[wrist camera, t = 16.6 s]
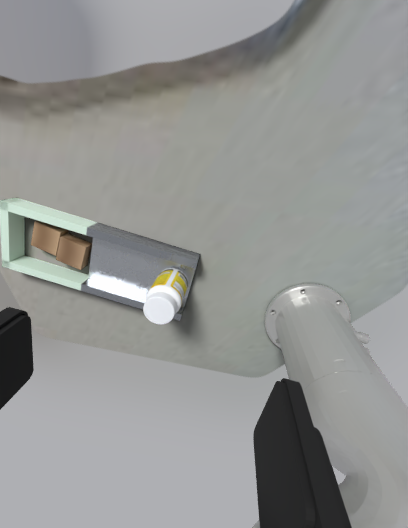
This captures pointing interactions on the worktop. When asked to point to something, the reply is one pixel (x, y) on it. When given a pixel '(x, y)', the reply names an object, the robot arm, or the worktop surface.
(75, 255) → the brown block
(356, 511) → the robot arm
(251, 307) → the worktop surface
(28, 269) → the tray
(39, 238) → the chip
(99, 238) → the channel
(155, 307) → the supplement bottle
